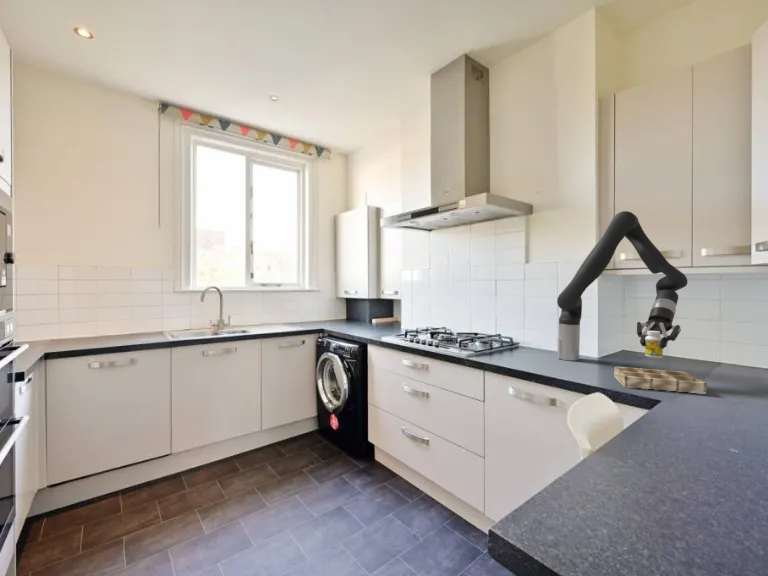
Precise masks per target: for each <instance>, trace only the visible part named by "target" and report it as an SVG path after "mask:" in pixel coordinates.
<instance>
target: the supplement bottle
mask: <svg viewBox="0 0 768 576" xmlns="http://www.w3.org/2000/svg"><path fill="white" fill-rule="evenodd" d="M647 335H648V336H647V337H645V346H644V356H646V357H648V358H655V359H661V358H663V356H664V355H663V354H664V353H663V352H664V350H663V349H661V346H660V344H661V341H662V338H663V337H661V334H660V332H659V331H647Z"/></svg>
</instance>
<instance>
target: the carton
mask: <svg viewBox="0 0 768 576" xmlns="http://www.w3.org/2000/svg"><path fill="white" fill-rule="evenodd" d="M613 368H614V369H613V370H614V371H613V374H614V375H613V377H614V378H616V380H617V381H618V382H619V383H620V384H621V385H622V386H623V387H624V388H629V389H637V388H641V389H640V390H648V389H654V390H653V391H658V390H668V391H667V392H669V391H681V392H691V391H702V392H707V390H708V389H707V388H708V387H707V386H708V383H707V382H705V381H704V380H702V379H700V378H698V377H696V376H694V375H693V374H691V373H689V372H687V371H678V370H677V371H676V370H664V369H652V368H651V369H650V368H638V367H627V366H626V367H625V366H614V367H613Z"/></svg>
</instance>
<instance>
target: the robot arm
mask: <svg viewBox="0 0 768 576" xmlns="http://www.w3.org/2000/svg"><path fill="white" fill-rule="evenodd" d="M624 238H626V239H627V240H628V241H629V242H630V243H631V245H632V246H633V248H634V249H635V251H636V253H637V254H638V256H639V258H640V259H641V261H642V262H643V263H644V265H645V266H646V267H647V269H648V271H649V272H650V273H652V274H653V275H656V274H657V275H658V274H660V273H661V274H664V275H665V276H663V277H661V278H660V279H659V280H658V281H657V282H656V284H655V293H656V297H655V300H654V302H653V304H652V306H651V309H650V312H649V316H648V319H647V321H646V322H642V323H641V322H640V321H637V323H636V334H637V337H638V338H640V340H639V342H640V345H641V347H645V337H647V336H648V335H647V331H659V332H660V335H662V336H663V337H661V338H662V341H661V344H660V346H661V349H665V348H666V347H667V345H668V342H669V341H673V342H675V341H676V340H677V338H678V336H679V334H680V333H681V331H682V329H681V326H680V325H679V324H676V325H674V324H673V320H674V318H675V315H676V312H677V311H676V309H677V305H678V302H679V301H678V300H679V295H678V293H677V292H678V291H679V290H681V289H683V288H685V287H687V285H688V282H689V281H688V278H687V276H686V275H685V274H684V273H683V272H682V271H681V270H679V269H678V268H676V267H675V266H674V265H673V264H671V263H670V262H669V261H668V260H667V259H666V258H665V255H664V254H663V253H661V251H660V250H659V248H657V246H656V245H655V244H654V243H653V242H652V240H650V238H649V237H648V235H647V234H646V232H645V231H644V230H643V228H642V226H641V224H640V221H639V218H638V217H637V215H635V214H634V213H633V212H631V211H627V210H625V211H620V212H617V214H615V215H614V216H613V217H612V219H611V221H610V223H609V225H608V226H607V228H606V230H605V232H604V233H603V235H602V237H601V238H600V239H599V240H598V242H597V243H596V244H595V245H594V246H593V248H592V250H591V251H590V252H589V254H587V256H586V258H585V259H584V260H583V263H581V265H580V267H579V268H578V270H577V271H576V273H575V274H574V276H573V277H572V279H571V281H570V282H569V283H568V284H567V285H566V287H565V288H564V289H563V290H562V291H561V292H560V294H559V295H558V297H557V301H556V303H557V306H558V307H559V308H560V310H561V311H560V316H559V318H558V338H557V358H558V359H559V360H564V361H574V362H575V361H576V362H577V361H580V344H581V343H580V340H581V339H580V337H581V319H582V311H583V298H582V295H583V293H584V292H585V291H586V289H587V288H588V287H589V286H591V284H593V283H594V282H595V281H596V280H597V279H598V278H599V277H600V276H601V275H602V273H604V271H605V270H606V268H607V267H608V265H609V264H610V262H611V260H612V258H613V256H614V254H615V253H616V250H617V247H618V246H619V244H620V243H621V241H623V239H624ZM645 327H646V328H645ZM644 328H645V330H644ZM643 330H644V331H643ZM670 330H672V331H671V333H670V335H668V333H667V332H669V331H670Z"/></svg>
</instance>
